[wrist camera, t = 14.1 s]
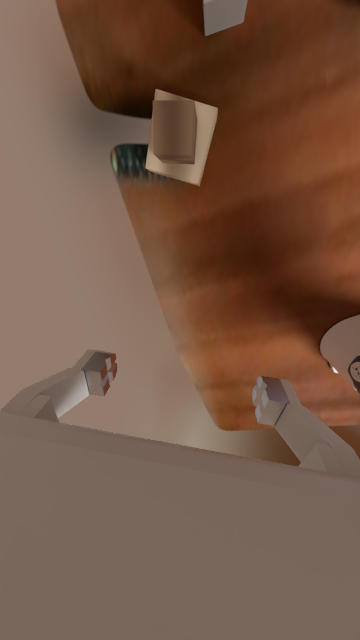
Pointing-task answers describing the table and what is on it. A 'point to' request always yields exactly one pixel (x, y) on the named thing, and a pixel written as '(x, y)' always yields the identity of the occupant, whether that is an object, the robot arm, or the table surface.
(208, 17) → the grey painted cube
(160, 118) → the walnut block
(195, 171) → the beech pedestal block
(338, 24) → the table surface
